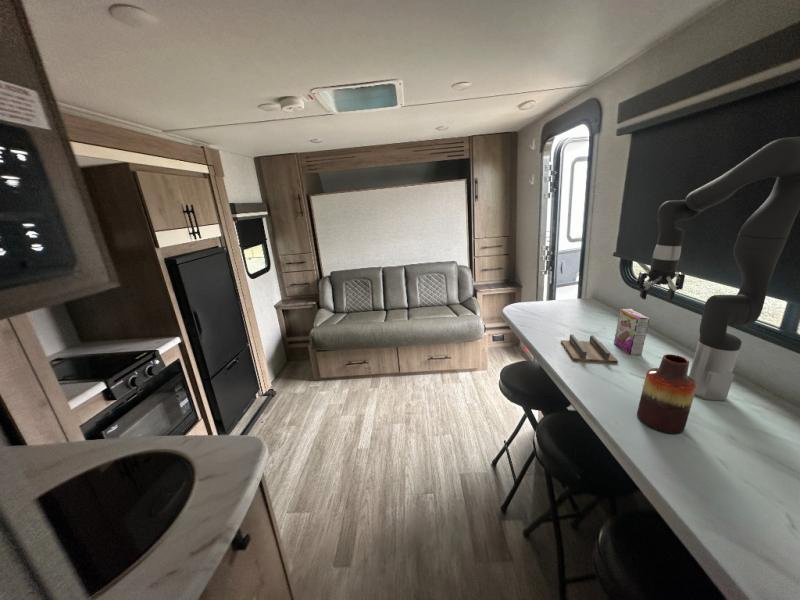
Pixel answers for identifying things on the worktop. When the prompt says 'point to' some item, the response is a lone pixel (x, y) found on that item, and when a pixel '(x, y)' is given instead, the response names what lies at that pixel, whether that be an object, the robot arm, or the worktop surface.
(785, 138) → the robot arm
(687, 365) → the vase
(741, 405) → the worktop surface
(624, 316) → the candy bar box
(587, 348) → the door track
